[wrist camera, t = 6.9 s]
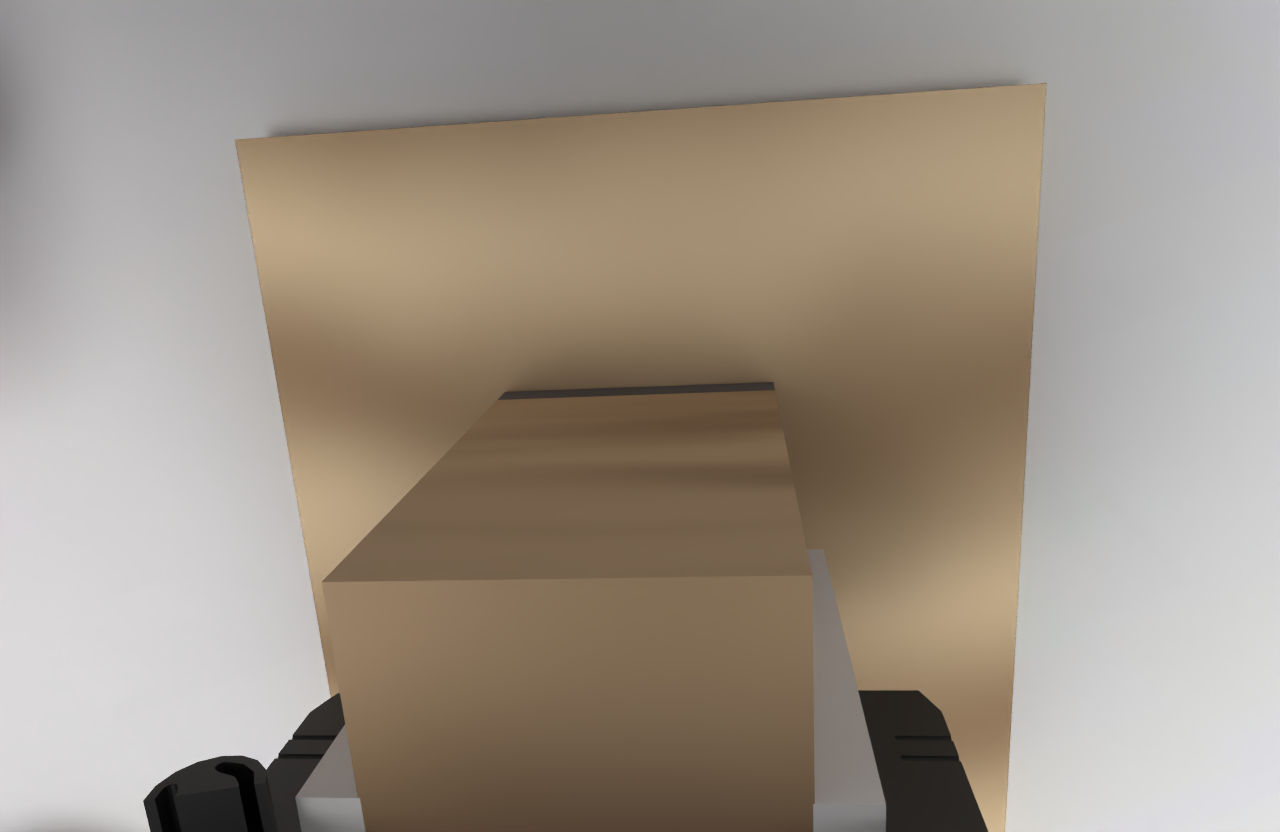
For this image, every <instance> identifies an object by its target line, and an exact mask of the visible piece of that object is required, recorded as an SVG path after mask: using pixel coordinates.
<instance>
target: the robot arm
mask: <svg viewBox="0 0 1280 832" xmlns="http://www.w3.org/2000/svg"><path fill="white" fill-rule="evenodd" d="M807 551H808V556H809V561H810V566H811V571H812V584H813V680H814V777H815V804H813V832H988V829H987V827H986V824H985V822H984V819H983V817H982V814H981V811H980V809H979V806H978V804H977V801H976V799H975V796H974V793H973V791H972V788H971V786H970V783H969V780H968V778H967V775H966V773H965V770H964V768H963V765H962V762H961V761H959V755H958V752H957V750H956V747H955V744H954V742H953V741H952V740H951V734H950V732H949V729H948V726H947V724H946V721H945V719H944V716H943V714H942V711H941V710H940V709H938V708H937V707H936V706H935V705H934V704H933V703H932V702H931V701H930V700H929V699H928V698H926V697H925V696H924V695H923V694H922V693H921V692H920V691H919V690H858V688H857V684H856V680H855V676H854V672H853V668H852V664H851V660H850V656H849V651H848V647H847V643H846V639H845V635H844V631H843V627H842V623H841V619H840V615H839V611H838V607H837V603H836V598H835V594H834V590H833V586H832V582H831V578H830V574H829V570H828V566H827V562H826V558H825V554H824V550H823V549H807ZM143 802H144V806H145V810H146V814H147V818H148V823H149V827H150V831H151V832H366V831H365V825H364V819H363V813H362V807H361V801H360V798H358V796H357V790H356V784H355V779H354V773H353V767H352V761H351V755H350V749H349V743H348V737H347V731H346V725H345V719H344V713H343V707H342V702H341V696H340V693H337V694H336V695H334V696H333V697H331V698H330V699H328V700H327V701H326V702H324V703H323V704H321V705H320V706H319V707H317V708H316V709H314V710H313V711H311V712H310V713H309V714H308V716H307V717H306V718H305V720H304V721H303V722H302V724H301V725H300V726H299V728H298V729H297V730H296V732H295V733H294V734H293V738H292V740H289V741H288V742H287V743H286V745H285V746H284V747H283V749H282V750H281V751H280V753H279V756H278V759H274V761H273V762H272V763H271V764H270V766H269V767H268V768H267V770H266V769H265V768H264V767H263V766H262V765H261V764H260V762H259V761H258V760H255V759H252V758H248V757H245V756H220V757H216V758H212V759H208V760H204V761H200V762H197V763H195V764H192V765H190V766H188V767H186V768H184V769H181V770H179V771H177V772H175V773H173V774H172V775H171V776H169V777H168V778H166V779H165V780H163V781H162V782H161V783H159V784H158V785H156V786H155V787H154V789H153V790H152V791H151V792H150V793H149V795H148V796H147V797H146V798H145V799H144V801H143Z"/></svg>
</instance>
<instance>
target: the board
mask: <svg viewBox="0 0 1280 832" xmlns="http://www.w3.org/2000/svg"><path fill="white" fill-rule="evenodd" d="M1045 96H1046V83H1041V84H1026V85H1012V86H998V87H983V88H969V89H955V90H940V91H926V92H912V93H897V94H883V95H869V96H854V97H840V98H826V99H811V100H797V101H783V102H768V103H754V104H740V105H725V106H711V107H697V108H682V109H668V110H654V111H639V112H625V113H611V114H596V115H582V116H567V117H553V118H539V119H524V120H510V121H496V122H481V123H467V124H453V125H438V126H424V127H410V128H395V129H381V130H367V131H352V132H338V133H324V134H309V135H295V136H281V137H266V138H252V139H238V140H235V142H236V148H237V154H238V160H239V165H240V171H241V177H242V183H243V189H244V195H245V200H246V206H247V212H248V218H249V224H250V229H251V235H252V241H253V247H254V253H255V259H256V264H257V270H258V276H259V282H260V288H261V293H262V299H263V305H264V311H265V317H266V323H267V328H268V334H269V340H270V346H271V352H272V357H273V363H274V369H275V375H276V381H277V387H278V392H279V398H280V404H281V410H282V416H283V421H284V427H285V433H286V439H287V445H288V451H289V456H290V462H291V468H292V474H293V480H294V485H295V491H296V497H297V503H298V509H299V515H300V520H301V526H302V532H303V538H304V544H305V549H306V555H307V561H308V567H309V573H310V579H311V584H312V590H313V596H314V602H315V608H316V613H317V619H318V625H319V631H320V637H321V643H322V648H323V654H324V660H325V666H326V672H327V677H328V683H329V689H330V695H331V697H333V696H334V695H336V694H337V693H340V690H339V684H338V678H337V672H336V666H335V660H334V654H333V648H332V642H331V636H330V630H329V625H328V619H327V613H326V607H325V601H324V595H323V589H322V583H321V582H322V581H323V580H324V579H325V578H326V577H327V576H328V575H329V574H330V573H331V572H332V571H333V570H334V568H335V567H336V566H337V565H338V564H339V563H340V562H341V561H342V560H343V559H344V558H345V557H346V556H347V555H348V554H349V553H350V552H351V551H352V550H353V549H354V548H355V547H356V546H357V545H358V544H359V543H360V542H361V541H362V539H363V538H364V537H365V536H366V535H367V534H368V533H369V532H370V531H371V530H372V529H373V528H374V527H375V526H376V525H377V524H378V523H379V522H380V521H381V520H382V519H383V518H384V517H385V516H386V515H387V514H388V513H389V512H390V510H391V509H392V508H393V507H394V506H395V505H396V504H397V503H398V502H399V501H400V500H401V499H402V498H403V497H404V496H405V495H406V494H407V493H408V492H409V491H410V490H411V489H412V488H413V487H414V486H415V485H416V484H417V483H418V481H419V480H420V479H421V478H422V477H423V476H424V475H425V474H426V473H427V472H428V471H429V470H430V469H431V468H432V467H433V466H434V465H435V464H436V463H437V462H438V461H439V460H440V459H441V458H442V457H443V456H444V455H445V454H446V452H447V451H448V450H449V449H450V448H451V447H452V446H453V445H454V444H455V443H456V442H457V441H458V440H459V439H460V438H461V437H462V436H463V435H464V434H465V433H466V432H467V431H468V430H469V429H470V428H471V427H472V426H473V425H474V423H475V422H476V421H477V420H478V419H479V418H480V417H481V416H482V415H483V414H484V413H485V412H486V411H487V410H488V409H489V408H490V407H491V406H492V405H493V404H494V403H495V402H496V401H497V400H498V399H499V398H500V397H501V396H502V394H503V393H504V392H516V391H544V390H571V389H599V388H626V387H654V386H681V385H709V384H736V383H764V382H773V383H774V388H775V393H776V398H777V403H778V407H779V412H780V417H781V422H782V427H783V432H784V437H785V442H786V447H787V452H788V457H789V462H790V467H791V472H792V477H793V482H794V487H795V492H796V497H797V502H798V506H799V511H800V516H801V521H802V526H803V531H804V536H805V541H806V546H807V549H823V550H824V554H825V558H826V562H827V566H828V570H829V574H830V578H831V582H832V586H833V590H834V594H835V598H836V603H837V607H838V611H839V615H840V619H841V623H842V627H843V631H844V635H845V639H846V643H847V647H848V651H849V656H850V660H851V664H852V668H853V672H854V676H855V680H856V684H857V688H858V690H919V691H920V692H921V693H922V694H923V695H924V696H925V697H926V698H928V699H929V700H930V701H931V702H932V703H933V704H934V705H935V706H936V707H937V708H938V709H940V710H941V711H942V714H943V716H944V719H945V721H946V724H947V726H948V729H949V732H950V734H951V740H952V741H953V742H954V744H955V747H956V750H957V752H958V755H959V761H961V762H962V765H963V768H964V770H965V773H966V775H967V778H968V780H969V783H970V786H971V788H972V791H973V793H974V796H975V799H976V801H977V804H978V806H979V809H980V811H981V814H982V817H983V819H984V822H985V824H986V827H987V829H988V832H1005V822H1006V804H1007V786H1008V768H1009V750H1010V732H1011V713H1012V695H1013V677H1014V659H1015V641H1016V623H1017V604H1018V586H1019V568H1020V550H1021V532H1022V514H1023V495H1024V477H1025V459H1026V441H1027V423H1028V405H1029V386H1030V368H1031V350H1032V332H1033V314H1034V296H1035V277H1036V259H1037V241H1038V223H1039V205H1040V187H1041V168H1042V150H1043V132H1044V114H1045Z"/></svg>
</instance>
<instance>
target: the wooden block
mask: <svg viewBox="0 0 1280 832" xmlns="http://www.w3.org/2000/svg"><path fill="white" fill-rule="evenodd" d="M321 583H322V589H323V595H324V601H325V607H326V613H327V619H328V625H329V630H330V636H331V642H332V648H333V654H334V660H335V666H336V672H337V678H338V684H339V690H340V696H341V702H342V707H343V713H344V719H345V725H346V731H347V737H348V743H349V749H350V755H351V761H352V767H353V773H354V779H355V784H356V790H357V796H358V798H360V801H361V807H362V813H363V819H364V825H365V831H366V832H813V804H815V777H814V680H813V584H812V571H811V566H810V561H809V556H808V551H807V546H806V541H805V536H804V531H803V526H802V521H801V516H800V511H799V506H798V502H797V497H796V492H795V487H794V482H793V477H792V472H791V467H790V462H789V457H788V452H787V447H786V442H785V437H784V432H783V427H782V422H781V417H780V412H779V407H778V403H777V398H776V393H775V388H774V383H773V382H764V383H736V384H709V385H681V386H654V387H626V388H599V389H571V390H544V391H516V392H504V393H503V394H502V396H501V397H500V398H499V399H498V400H497V401H496V402H495V403H494V404H493V405H492V406H491V407H490V408H489V409H488V410H487V411H486V412H485V413H484V414H483V415H482V416H481V417H480V418H479V419H478V420H477V421H476V422H475V423H474V425H473V426H472V427H471V428H470V429H469V430H468V431H467V432H466V433H465V434H464V435H463V436H462V437H461V438H460V439H459V440H458V441H457V442H456V443H455V444H454V445H453V446H452V447H451V448H450V449H449V450H448V451H447V452H446V454H445V455H444V456H443V457H442V458H441V459H440V460H439V461H438V462H437V463H436V464H435V465H434V466H433V467H432V468H431V469H430V470H429V471H428V472H427V473H426V474H425V475H424V476H423V477H422V478H421V479H420V480H419V481H418V483H417V484H416V485H415V486H414V487H413V488H412V489H411V490H410V491H409V492H408V493H407V494H406V495H405V496H404V497H403V498H402V499H401V500H400V501H399V502H398V503H397V504H396V505H395V506H394V507H393V508H392V509H391V510H390V512H389V513H388V514H387V515H386V516H385V517H384V518H383V519H382V520H381V521H380V522H379V523H378V524H377V525H376V526H375V527H374V528H373V529H372V530H371V531H370V532H369V533H368V534H367V535H366V536H365V537H364V538H363V539H362V541H361V542H360V543H359V544H358V545H357V546H356V547H355V548H354V549H353V550H352V551H351V552H350V553H349V554H348V555H347V556H346V557H345V558H344V559H343V560H342V561H341V562H340V563H339V564H338V565H337V566H336V567H335V568H334V570H333V571H332V572H331V573H330V574H329V575H328V576H327V577H326V578H325V579H324V580H323V581H322V582H321Z"/></svg>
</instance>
